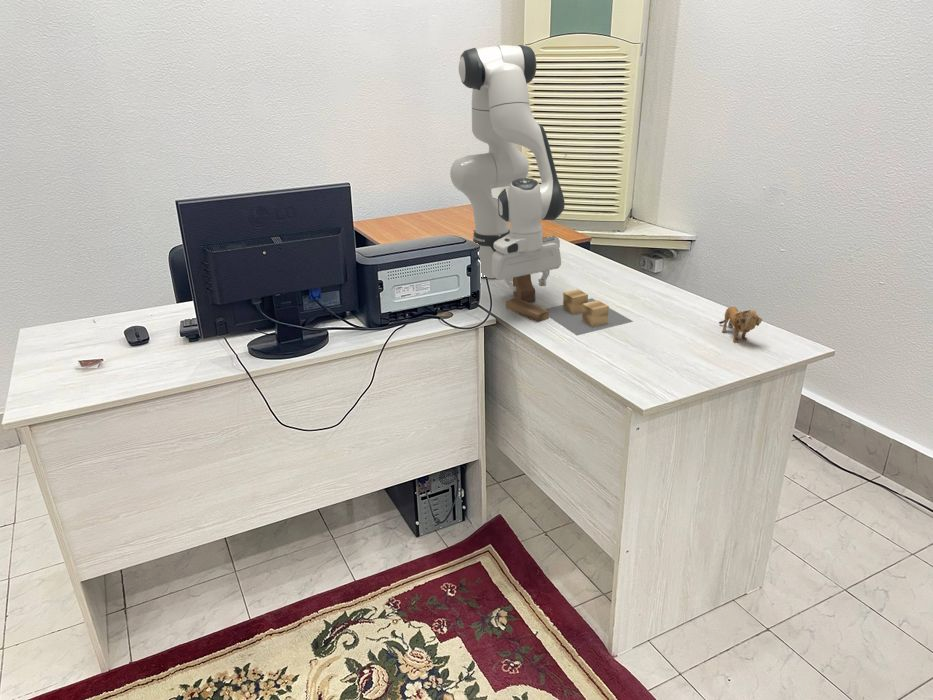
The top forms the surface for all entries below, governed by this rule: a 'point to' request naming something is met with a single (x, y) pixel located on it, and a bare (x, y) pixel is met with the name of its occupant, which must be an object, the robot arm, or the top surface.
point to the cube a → (574, 301)
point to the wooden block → (524, 288)
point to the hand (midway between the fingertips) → (527, 288)
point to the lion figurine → (740, 322)
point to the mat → (579, 326)
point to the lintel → (527, 309)
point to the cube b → (595, 313)
